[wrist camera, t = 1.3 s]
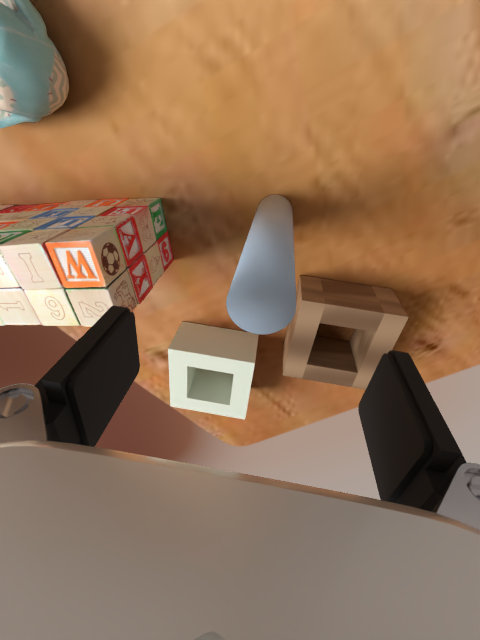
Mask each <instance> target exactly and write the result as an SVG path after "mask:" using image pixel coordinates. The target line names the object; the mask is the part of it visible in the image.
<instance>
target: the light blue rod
mask: <svg viewBox="0 0 480 640" xmlns="http://www.w3.org/2000/svg"><path fill="white" fill-rule="evenodd" d="M226 306H227V311H228V314H229V316H230V317H231V319H232V320H233V322H234V323H235V324H236V325H237V326H239V327H240V328H242V329H243V330H245V331H247V332H250V333H254V334H271V333H275V332H278V331H280V330H282V329H283V328H285V327H286V326H287V325H288V324H289V323H290V322H291V320H292V319H293V317H294V315H295V312H296V286H295V261H294V235H293V211H292V206H291V204H290V202H289V201H288V200H287V199H286V198H285V197H283V196H281V195H276V194H274V195H269V196H267V197H265V198H264V199H263V200H262V201H261V202H260V203H259V205H258V207H257V210H256V213H255V216H254V219H253V222H252V225H251V228H250V231H249V234H248V237H247V240H246V243H245V246H244V249H243V252H242V254H241V257H240V260H239V263H238V266H237V269H236V272H235V275H234V278H233V281H232V284H231V287H230V290H229V293H228V296H227V300H226Z"/></svg>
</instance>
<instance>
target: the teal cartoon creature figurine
mask: <svg viewBox="0 0 480 640" xmlns="http://www.w3.org/2000/svg"><path fill="white" fill-rule="evenodd" d="M68 92H69V80H68V76H67V72H66V67H65V64H64V62H63V60H62V58H61V56H60V54H59V52H58V50H57V49H56V47H55V45H54V44H53V42H52V41H51V40H50V38H49V37H48V36H47V31H46V26H45V23H44V21H43V19H42V17H41V15H40V13H39V12H38V11H37V10H36V8H35V7H34V6H33V5H32V3H31V2H30V0H0V128H4V127H8V126H12V125H15V124H19V123H23V122H33V123H35V122H39V121H40V120H41V119H42V117H44V116H48V115H50V114H52V113H53V112H54V111H56V110H57V109H58V108H60V107H61V106H62V105H63V104H64V102H65V100H66V98H67V95H68Z"/></svg>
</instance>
